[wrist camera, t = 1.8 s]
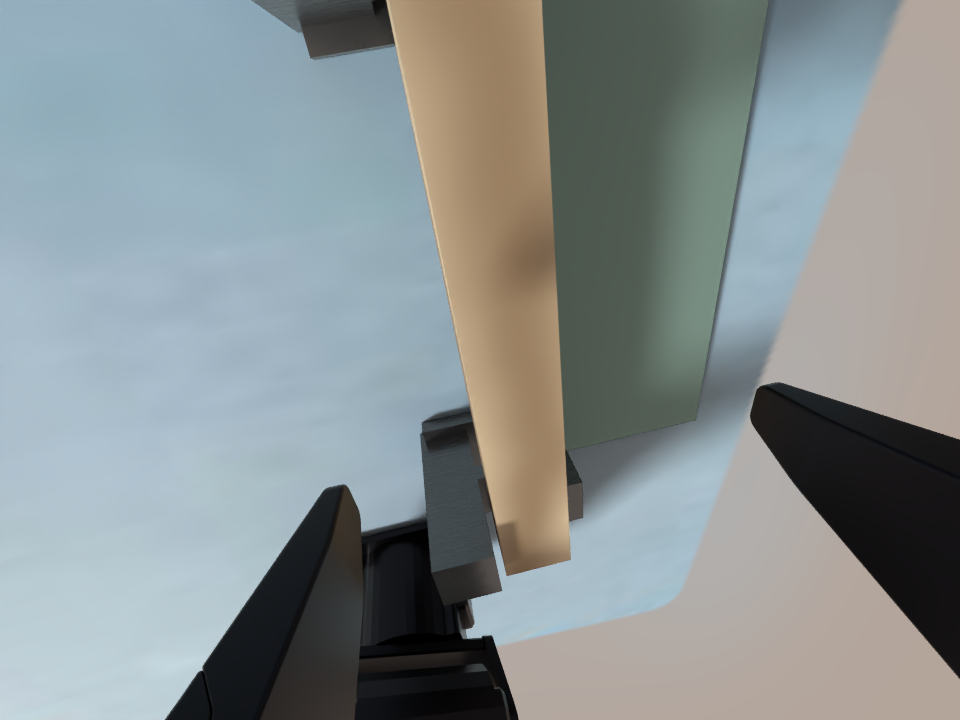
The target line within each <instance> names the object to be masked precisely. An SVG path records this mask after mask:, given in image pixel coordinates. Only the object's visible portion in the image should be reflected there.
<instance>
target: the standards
mask: <svg viewBox="0 0 960 720" xmlns="http://www.w3.org/2000/svg"><path fill="white" fill-rule="evenodd" d="M252 1H253V2H255V3H256V4H258V5H259V6H261V7H262V8H263V9H265V10H266V11H268V12H269V13H271V14H272V15H274V16H275V17H276V18H278V19H279V20H281V21H282V22H284V23H285V24H286V25H288V26H289V27H291V28H292V29H294V30H295V31H297V32H298V33H299V32H303V34H304V38H305V41H306V45H307V48H308V51H309V55H310V58H312V59H314V60H316V59H322V58H328V57H334V56H340V55H346V54H352V53H358V52H364V51H370V50H376V49H382V48H388V47H394V46H395V41H394V36H393V31H392V26H391V21H390V17H389V12H388V7H387V2H386V0H252ZM422 432H423V434H420V437H421V450H422V462H423V474H424V487H425V499H426V511H427V524H428V536H429V548H430V561H431V573H432V575H433V578H434V581H435V583H436V586H437V589H438V591H439V594H440V597H441V599H442V602H443V605H444V606H446V605H450V604H454V603H457V602H461V601H465V600H469V599H473V598H477V597H481V596H484V595H488V594H492V593H496V592H500V591H502V588H501V583H500V579H499V574H498V570H497V565H496V561H495V556H494V552H493V547H492V543H491V538H490V534H489V529H488V525H487V520H486V516H485V513H486V512H490V511H492V510H491V505H490V501H489V496H488V491H487V486H486V481H485V476H484V472H483V467H482V462H481V457H480V452H479V447H478V442H477V438H476V433H475V428H474V423H473V418H472V413H471V412H468V413H463V414H459V415H454V416H450V417H446V418H441V419H437V420H433V421H428V422H424V423H422ZM565 458H566V478H567V497H568V516H569V521H572V520H576V519H580V518H583V489H582V481H581V479H580V477H579V475H578V473H577V471H576V469H575V467H574V465H573V462H572V460H571V458H570V456H569V454H568V452H567V450H566V448H565Z"/></svg>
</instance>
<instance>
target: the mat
mask: <svg viewBox="0 0 960 720" xmlns="http://www.w3.org/2000/svg"><path fill="white" fill-rule="evenodd" d="M768 3H769V0H542V16H543V35H544V54H545V74H546V93H547V112H548V131H549V151H550V170H551V189H552V208H553V228H554V247H555V266H556V285H557V305H558V324H559V343H560V362H561V381H562V401H563V420H564V439H565V448H566V450H567V451H569V450H573V449H577V448H581V447H585V446H589V445H594V444H598V443H602V442H606V441H610V440H615V439H619V438H623V437H627V436H631V435H635V434H640V433H644V432H648V431H652V430H656V429H660V428H665V427H669V426H673V425H677V424H681V423H685V422H690V421H694V420H696V417H697V411H698V405H699V399H700V394H701V388H702V382H703V376H704V371H705V365H706V359H707V353H708V348H709V342H710V336H711V330H712V325H713V319H714V313H715V307H716V302H717V296H718V290H719V284H720V279H721V273H722V267H723V261H724V256H725V250H726V244H727V238H728V233H729V227H730V221H731V215H732V210H733V204H734V198H735V192H736V187H737V181H738V175H739V170H740V164H741V158H742V152H743V147H744V141H745V135H746V129H747V124H748V118H749V112H750V106H751V101H752V95H753V89H754V83H755V78H756V72H757V66H758V60H759V55H760V49H761V43H762V37H763V32H764V26H765V20H766V14H767V9H768Z"/></svg>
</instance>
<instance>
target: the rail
mask: <svg viewBox="0 0 960 720" xmlns="http://www.w3.org/2000/svg"><path fill="white" fill-rule="evenodd" d="M386 2H387V7H388V12H389V17H390V21H391V26H392V31H393V36H394V41H395V46H396V50H397V55H398V60H399V65H400V70H401V75H402V80H403V84H404V89H405V94H406V99H407V104H408V109H409V113H410V118H411V123H412V128H413V133H414V138H415V142H416V147H417V152H418V157H419V162H420V167H421V171H422V176H423V181H424V186H425V191H426V196H427V201H428V205H429V210H430V215H431V220H432V225H433V230H434V234H435V239H436V244H437V249H438V254H439V259H440V263H441V268H442V273H443V278H444V283H445V288H446V292H447V297H448V302H449V307H450V312H451V317H452V322H453V326H454V331H455V336H456V341H457V346H458V351H459V355H460V360H461V365H462V370H463V375H464V380H465V384H466V389H467V394H468V399H469V404H470V409H471V413H472V418H473V423H474V428H475V433H476V438H477V442H478V447H479V452H480V457H481V462H482V467H483V472H484V476H485V481H486V486H487V491H488V496H489V501H490V505H491V510H492V515H493V520H494V524H495V528H496V533H497V537H498V541H499V545H500V549H501V554H502V558H503V562H504V566H505V570H506V575H507V576H509V575H513V574H517V573H521V572H525V571H529V570H533V569H536V568H540V567H544V566H548V565H552V564H556V563H560V562H564V561H568V560H571V555H570V535H569V516H568V497H567V478H566V458H565V439H564V420H563V401H562V381H561V362H560V343H559V324H558V305H557V285H556V266H555V247H554V228H553V208H552V189H551V170H550V151H549V131H548V112H547V93H546V74H545V54H544V35H543V16H542V0H386Z"/></svg>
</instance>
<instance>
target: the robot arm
mask: <svg viewBox="0 0 960 720" xmlns="http://www.w3.org/2000/svg"><path fill="white" fill-rule="evenodd" d="M750 419H751V422H752V424H753V426H754V428H755V429H756V431H757V432H758V434H759V435H760V436H761V438H762V439H763V441H764V442H765V444H766V445H767V446H768V448H769V449H770V451H771V452H772V453H773V455H774V456H775V458H776V459H777V461H778V462H779V464H780V465H781V466H782V468H783V469H784V471H785V472H786V474H787V475H788V476H789V478H790V479H791V480H792V482H793V483H794V484H795V486H796V487H797V488H798V489H799V491H800V492H801V493H802V494H803V495H804V497H805V498H806V499H807V500H808V501H809V502H810V504H811V505H812V506H813V507H814V508H815V510H816V511H817V512H818V513H819V514H820V515H821V517H822V518H823V519H824V520H825V521H826V522H827V524H828V525H829V526H830V527H831V528H832V529H833V530H834V532H835V533H836V534H837V535H838V537H839V538H840V539H841V540H842V541H843V542H844V543H845V545H846V546H847V547H848V548H849V549H850V551H851V552H852V553H853V554H854V555H855V556H856V558H857V559H858V560H859V561H860V562H861V563H862V565H863V566H864V567H865V568H866V569H867V571H868V572H869V573H870V574H871V575H872V576H873V578H874V579H875V580H876V581H877V582H878V583H879V585H880V586H881V587H882V588H883V589H884V591H885V592H886V593H887V594H888V595H889V596H890V598H891V599H892V600H893V601H894V602H895V604H896V605H897V606H898V607H899V608H900V609H901V611H902V612H903V613H904V614H905V615H906V616H907V618H908V619H909V620H910V621H911V622H912V623H913V625H914V626H915V627H916V628H917V629H918V631H919V632H920V633H921V634H922V635H923V636H924V638H925V639H926V640H927V641H928V642H929V643H930V645H931V646H932V647H933V648H934V649H935V651H936V652H937V653H938V654H939V655H940V656H941V657H942V659H943V660H944V661H945V662H946V663H947V665H948V666H949V667H950V668H951V669H952V670H953V671H954V673H955V674H956V675H957V676H958V678H959V679H960V440H959V439H956V438H953V437H950V436H946V435H944V434H940V433H937V432H934V431H931V430H928V429H925V428H922V427H918V426H915V425H912V424H909V423H906V422H903V421H900V420H896V419H893V418H890V417H887V416H884V415H880V414H878V413H875V412H871V411H868V410H865V409H862V408H859V407H856V406H852V405H849V404H846V403H843V402H840V401H837V400H834V399H831V398H828V397H824V396H821V395H818V394H815V393H812V392H809V391H806V390H803V389H799V388H796V387H793V386H790V385H787V384H784V383H779V382H777V383H771V384H767V385H763V386H760V387H759V388H758V389H757V391H756V394H755V398H754V401H753V405H752V409H751V413H750ZM473 625H474V616H473V610H472V603H471V599H469V600H465V601H461V602H457V603H454V604H450V605H446V606H444V605H443V602H442V599H441V597H440V594H439V591H438V589H437V586H436V583H435V581H434V578H433V575H432V573H431V561H430V548H429V536H428V524H427V523H423V524H419V525H415V526H411V527H407V528H402V529H398V530H394V531H390V532H386V533H382V534H378V535H374V536H370V537H366V538H362V539H361V519H360V513H359V510H358V507H357V505H356V503H355V501H354V499H353V497H352V494H351V492H350V490H349V488H348V487H347V486H346V485H344V484H342V485H338V486H333V487H329V488H326V489H325V490H324V491H323V492H322V494H321V495H320V496H319V498H318V499H317V501H316V502H315V504H314V505H313V507H312V508H311V510H310V511H309V512H308V514H307V515H306V517H305V518H304V520H303V521H302V523H301V524H300V525H299V527H298V528H297V530H296V531H295V533H294V534H293V536H292V537H291V539H290V540H289V541H288V543H287V544H286V546H285V547H284V549H283V550H282V552H281V553H280V554H279V556H278V557H277V559H276V560H275V562H274V563H273V565H272V566H271V568H270V569H269V570H268V572H267V573H266V575H265V576H264V578H263V579H262V581H261V582H260V584H259V585H258V586H257V588H256V589H255V591H254V592H253V594H252V595H251V597H250V598H249V599H248V601H247V602H246V604H245V605H244V607H243V608H242V610H241V611H240V613H239V614H238V615H237V617H236V618H235V620H234V621H233V623H232V624H231V626H230V627H229V629H228V630H227V631H226V633H225V634H224V636H223V637H222V639H221V640H220V642H219V643H218V644H217V646H216V647H215V649H214V650H213V652H212V653H211V655H210V656H209V658H208V659H207V660H206V662H205V663H204V665H203V667H202V669H203V671H199V672H198V673H197V675H196V676H195V678H194V679H193V680H192V682H191V683H190V685H189V686H188V688H187V689H186V691H185V692H184V693H183V695H182V696H181V698H180V699H179V701H178V702H177V703H176V705H175V706H174V708H173V709H172V710H171V712H170V713H169V715H168V716H167V717H166V719H165V720H518V714H517V711H516V707H515V704H514V700H513V697H512V694H511V691H510V688H509V685H508V682H507V679H506V676H505V673H504V670H503V667H502V664H501V661H500V658H499V655H498V652H497V649H496V646H495V643H494V640H493V637H492V635H489V636H482V638H472V639H467V636H466V629H469V628H472V627H473Z"/></svg>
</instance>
